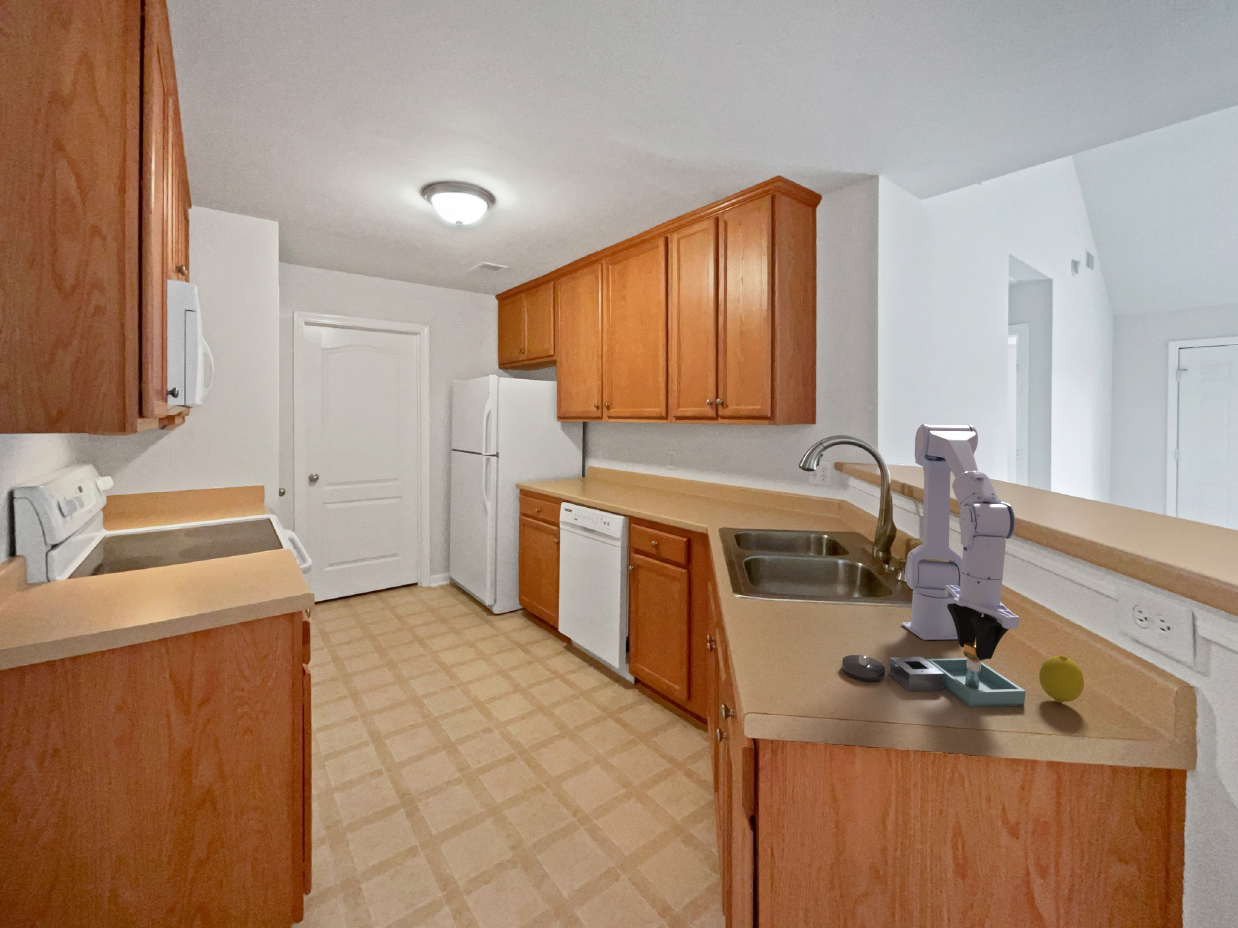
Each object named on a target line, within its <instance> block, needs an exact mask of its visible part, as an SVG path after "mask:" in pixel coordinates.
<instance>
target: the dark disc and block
mask: <svg viewBox="0 0 1238 928" xmlns="http://www.w3.org/2000/svg"><path fill="white" fill-rule="evenodd" d="M926 659H927V658H925V657H923V656H900V657H899V656H898V657H897V656H896V657H893V656H892V657H891V656H890V657H889V665H888V674H889V675H890V676H891V677H892V678H893V679H895V681H897V683H899V684H900V685H901V686H902V687H903V688H904V689H905V690H906V691H908V692H924V691H925V692H926V691H927V692H929V691H930V692H931V691H932V692H933V691H943V690H944V687H943V682H944V673H943V672H942V671H940V670H939V669H938V668H936V667H935V666H934V665H932V664H931V663H930V662H928V661H927V660H926ZM841 664H842V665H841V671H842V673H844V675H846V676H848V678H851V679H853V680H856V681H860V682H864V683H879V682H883V681H884V679H885V676H886V666H885V665H884V663H882V662H881V661H880V660H878V659H876V658H873V657H869V656H868V655H867V654H850V655H846V656H844V657H843V658H842V663H841Z"/></svg>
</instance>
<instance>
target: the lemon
mask: <svg viewBox="0 0 1238 928" xmlns="http://www.w3.org/2000/svg"><path fill="white" fill-rule="evenodd" d="M1084 681H1085V680H1084V674H1083V672H1082V670H1081V668H1080V666H1079V665H1078V664H1076V662H1074V661H1073V660H1072V659H1070V658H1068V657H1067V656H1066V655H1062V654H1061V655H1055V656H1054V655H1053V656H1050V657H1048V658H1047V659H1046V660H1045V661H1043V663H1042V664H1041V667H1040V670H1039V684H1040V686H1041V689H1043V691H1044V693H1045V694H1047V695H1048V696H1049V697H1050V698H1052V699H1053V700H1054V701H1055V702H1056V703H1057V704H1062V703H1065V702H1073V701H1075V700H1077V699H1078V698H1079V697H1080V696H1081V695H1082V692H1083V690H1084V688H1085V687H1084V684H1085V682H1084Z"/></svg>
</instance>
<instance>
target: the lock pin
mask: <svg viewBox="0 0 1238 928" xmlns="http://www.w3.org/2000/svg"><path fill="white" fill-rule="evenodd" d="M962 654H963V655H964V657H965V658H967V666H966V678H965V684H966V685H967V686H969V687H972V688H979V682H980V670H981V662H983V661H985V660H986V659H979V658H977V655H976V641H975V642H965V643H964V647H963V653H962Z"/></svg>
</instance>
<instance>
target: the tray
mask: <svg viewBox="0 0 1238 928" xmlns="http://www.w3.org/2000/svg"><path fill="white" fill-rule="evenodd" d="M925 659H926V660H927V661H928V662H930V663H931V664H932V665H934V666H935V667H936V668H938V669H939V670H940V671H942V672H943V673H944V682H943V688H945V690H947V691H948V692H950V693H951V695H953V696H955V697H956V698H957V699H958V700H959V701H961V702H962V703H963V704H965V705H966V706H968V707H969V708H984V707H987V708H989V707H1020V706H1021V707H1022V706H1023V707H1024V706H1025V701H1026V690H1025V689H1024V688H1022V687H1020V686H1019V685H1017V684H1016V683H1015V682H1013V681H1012V680H1009V679H1008V678H1006V677H1005V676H1004V675H1003V674H1000V673H999V672H998V671H996V670H995V669H994V668H992V667H990V666H989V665H987V664H986V663H984V662H983V661H981V670H980V682H979V688H972V687H969V686H967V685H966V684H965V678H966V666H967V657H959V658H956V657H955V658H951V657H950V658H925Z"/></svg>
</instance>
